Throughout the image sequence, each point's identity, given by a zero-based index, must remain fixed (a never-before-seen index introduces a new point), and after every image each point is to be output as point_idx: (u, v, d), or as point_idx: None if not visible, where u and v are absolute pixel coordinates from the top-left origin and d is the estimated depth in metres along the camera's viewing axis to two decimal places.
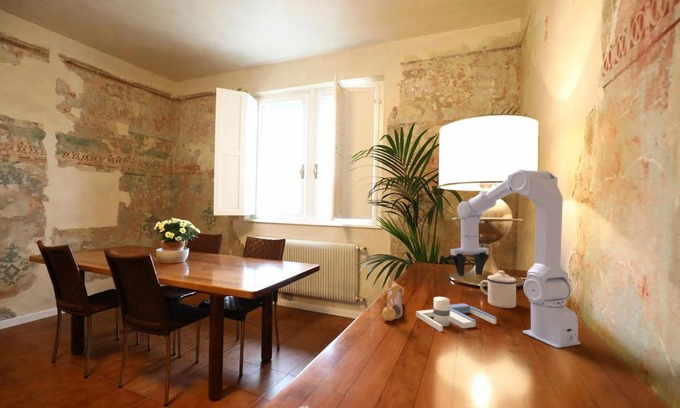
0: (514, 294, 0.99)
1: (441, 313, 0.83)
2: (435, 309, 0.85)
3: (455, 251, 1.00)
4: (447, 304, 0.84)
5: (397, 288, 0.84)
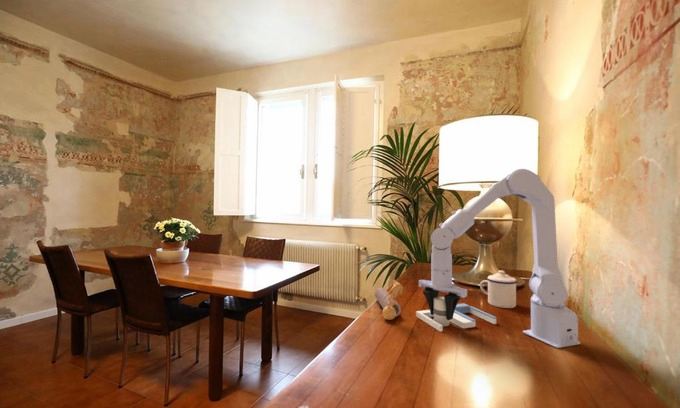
0: (514, 294, 0.99)
1: (441, 313, 0.83)
2: (435, 309, 0.85)
3: (419, 282, 0.91)
4: None
5: (399, 287, 0.85)
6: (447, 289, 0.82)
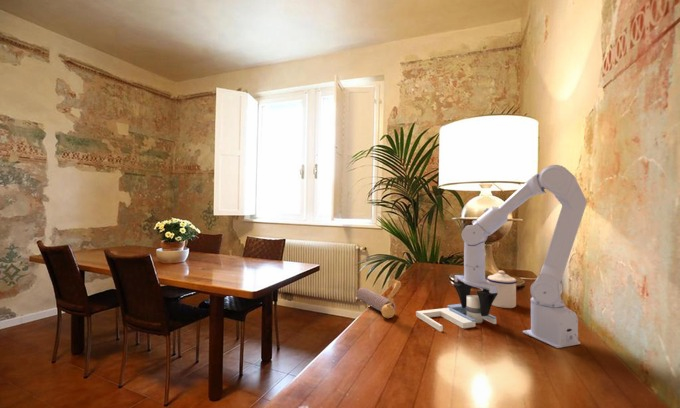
0: (514, 294, 0.99)
1: (472, 310, 0.86)
2: (467, 306, 0.88)
3: (455, 277, 0.94)
4: (478, 302, 0.86)
5: (400, 285, 0.88)
6: (477, 284, 0.84)
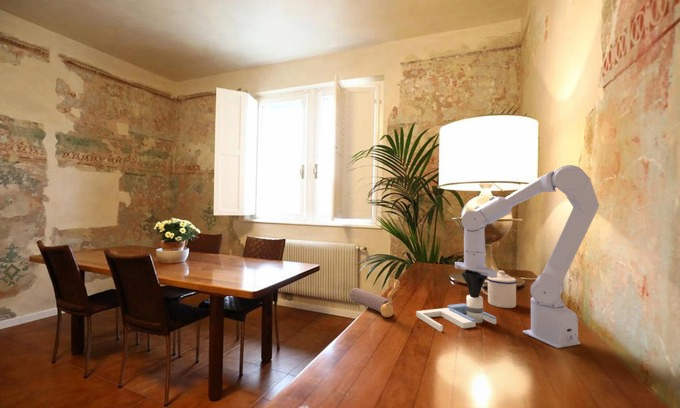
0: (514, 294, 0.99)
1: (472, 310, 0.86)
2: (467, 306, 0.88)
3: (455, 264, 0.94)
4: (478, 302, 0.86)
5: (399, 283, 0.89)
6: (477, 269, 0.84)
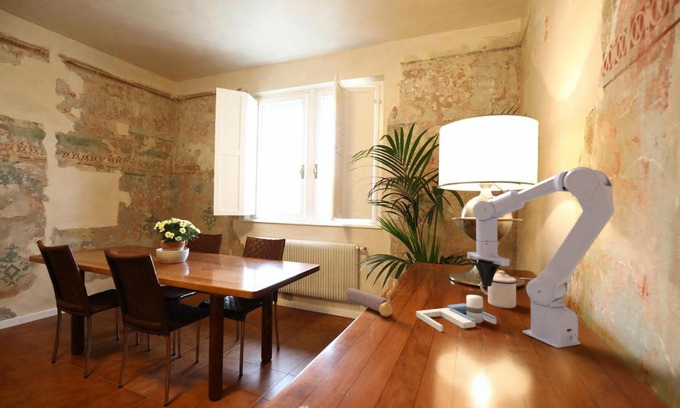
0: (514, 294, 0.99)
1: (472, 310, 0.86)
2: (467, 306, 0.88)
3: (467, 254, 0.96)
4: (478, 302, 0.86)
5: (397, 283, 0.90)
6: (489, 258, 0.86)
